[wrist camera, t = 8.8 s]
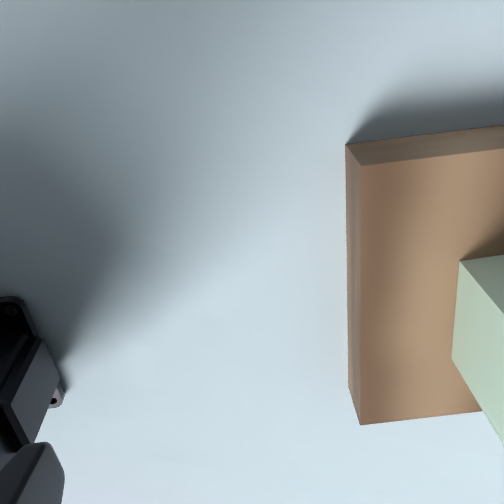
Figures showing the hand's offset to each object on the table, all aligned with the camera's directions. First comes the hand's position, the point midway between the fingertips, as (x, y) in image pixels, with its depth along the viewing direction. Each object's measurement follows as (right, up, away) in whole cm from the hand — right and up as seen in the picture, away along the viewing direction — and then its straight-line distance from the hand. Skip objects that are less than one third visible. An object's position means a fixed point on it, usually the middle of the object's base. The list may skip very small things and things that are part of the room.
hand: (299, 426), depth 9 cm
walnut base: (+10, +3, +14) cm, 17 cm away
